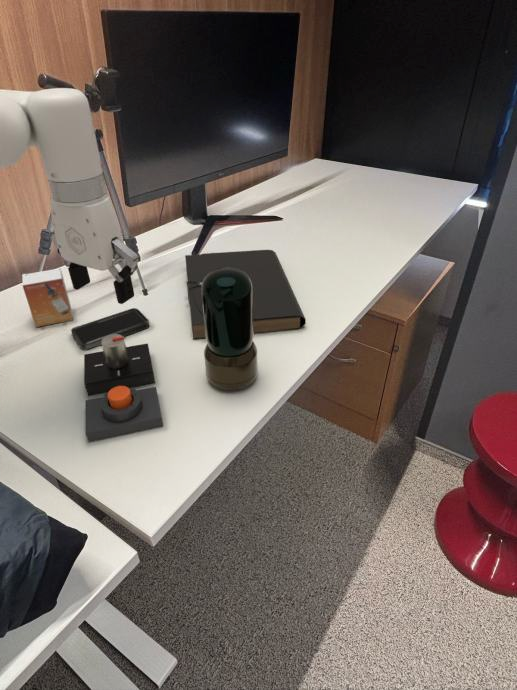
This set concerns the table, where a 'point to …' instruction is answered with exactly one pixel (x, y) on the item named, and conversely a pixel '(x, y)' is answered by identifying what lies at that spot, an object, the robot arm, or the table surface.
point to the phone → (109, 327)
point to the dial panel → (118, 371)
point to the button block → (122, 415)
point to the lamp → (229, 329)
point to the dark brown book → (268, 289)
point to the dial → (115, 351)
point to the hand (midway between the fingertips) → (103, 292)
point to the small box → (47, 297)
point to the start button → (119, 397)
